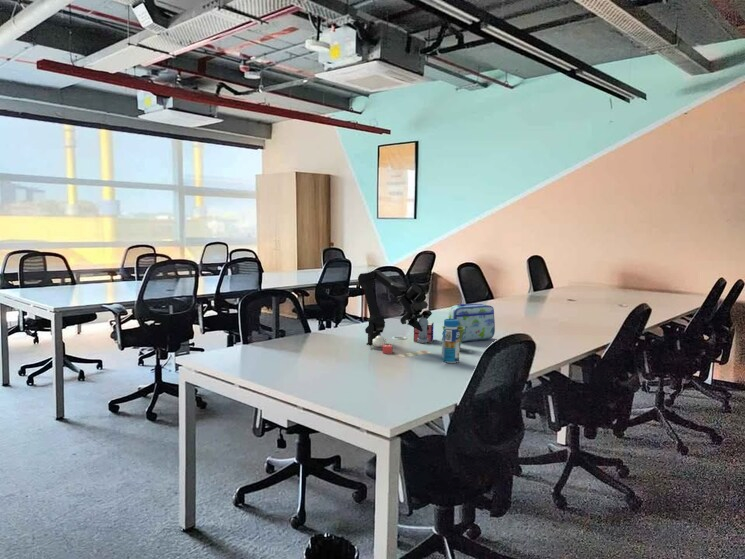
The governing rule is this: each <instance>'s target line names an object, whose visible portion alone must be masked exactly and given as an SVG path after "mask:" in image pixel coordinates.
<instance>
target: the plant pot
mask: <svg viewBox="0 0 745 559" xmlns="http://www.w3.org/2000/svg"><path fill="white" fill-rule="evenodd" d="M441 328H442V329H443V330H444V329H445V327H444V325H443V326H442V327H441ZM457 329H458V330H459V333H460V336H459V338H460V346H459V350H460V349H461V345H462V342H461V340H462V335H463V331H464V329H465V327H462V326H458V327H457ZM443 330H442V331H443Z"/></svg>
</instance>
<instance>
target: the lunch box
mask: <svg viewBox="0 0 745 559" xmlns="http://www.w3.org/2000/svg"><path fill="white" fill-rule="evenodd" d="M448 319H457V320H458V321H459V325H458V326H462V327H465V329H464V331H463V335H462V340H461V343H464V342H465V343H466V342H476V341H483V340H491V339H492V338H493V337H494V336H495V331H496V326H495V325H496V324H495V323H496V321H495V320H496V319H495V309H494V306H492V305H487V304H483V303H459V304H455V305H452V306H451V307H450V308H449V311H448Z"/></svg>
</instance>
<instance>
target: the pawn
mask: <svg viewBox="0 0 745 559" xmlns="http://www.w3.org/2000/svg"><path fill="white" fill-rule="evenodd" d="M418 322H419V324H420V326H421V328H422V330H423V331H422V332H421V331H419V338H417V342H416V343H420V344H424V343H425V344H428V343H427V342H428V341H429V339H428V338H427V325H428V322H429V321H428V319H426V318H420V319H418Z"/></svg>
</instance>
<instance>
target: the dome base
mask: <svg viewBox="0 0 745 559" xmlns="http://www.w3.org/2000/svg"><path fill="white" fill-rule="evenodd" d="M372 350H376V351H383V347H375V346H373V345H370V351H372Z"/></svg>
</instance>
